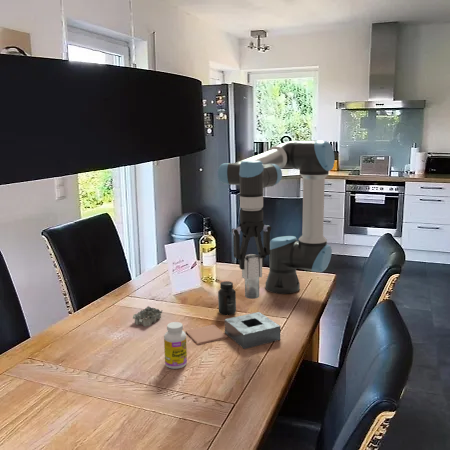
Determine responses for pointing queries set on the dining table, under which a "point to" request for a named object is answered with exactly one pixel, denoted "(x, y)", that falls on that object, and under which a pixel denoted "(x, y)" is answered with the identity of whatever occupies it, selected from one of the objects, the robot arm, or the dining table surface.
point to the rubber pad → (206, 334)
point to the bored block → (252, 330)
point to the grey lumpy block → (152, 316)
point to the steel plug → (252, 276)
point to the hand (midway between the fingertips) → (252, 277)
